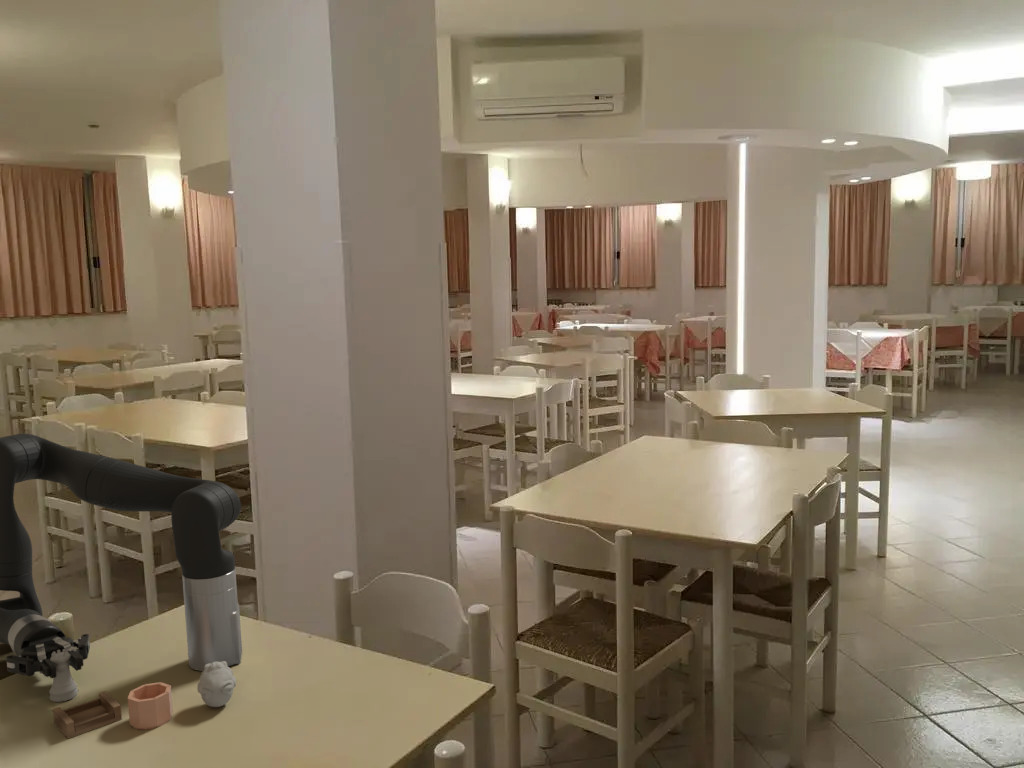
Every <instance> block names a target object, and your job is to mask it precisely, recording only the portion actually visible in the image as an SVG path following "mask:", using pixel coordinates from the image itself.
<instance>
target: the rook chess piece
mask: <svg viewBox="0 0 1024 768" xmlns="http://www.w3.org/2000/svg"><path fill="white" fill-rule="evenodd" d="M51 655H52V657H51V658H50V661H51V662H52V663H53V664H55V667H56V677H55V678H52V679H53V680H52V684H51V687H50V689H49V691H48V693H49V697H48V698H49V700H50V701H52V702H54V703H64V702H67V700H68V701H70V700H72V699H74V698H76V697H77V695H78V693H79V690H78V684H77V683H76V682H75V680H74V678H72V674H71V670H70V667H71V665H70V663H69V658H70V657H71V655H70V654H69V653H68V650H66V649H63V652H60V650H57V653H56V652H53V653H52V654H51ZM63 701H64V702H63Z"/></svg>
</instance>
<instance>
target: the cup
mask: <svg viewBox="0 0 1024 768" xmlns="http://www.w3.org/2000/svg"><path fill="white" fill-rule="evenodd" d="M127 705H128V706H127V708H128V717H129V718H128V719H129V725H130V726H131V727H132V726H133V727H132V728H133V729H136V730H151V729H156V728H159V727H161V726H163V725H165V724H167V723H168V722H170V721H171V719H172V718H173V712H174V706H173V695H172V685H171V684H168V683H164V682H160V681H158V682H154V683H144V684H143V685H140V686H138V687H136V688H134V689H132V690H130V691H129V694H128V696H127Z"/></svg>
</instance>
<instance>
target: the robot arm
mask: <svg viewBox="0 0 1024 768" xmlns="http://www.w3.org/2000/svg"><path fill="white" fill-rule="evenodd" d="M30 480H43V481H48V482H54V483H57V484H61V485H64V486H66V487H67V488H68V489H69V490H70V492H72V493H73V495H75V496H76V498H78V499H80V500H81V501H83V502H85V503H88V504H91V505H93V506H97V507H101V508H104V509H105V508H106V509H109V510H112V511H113V510H114V511H119V512H162V513H165V512H166V513H171V529H172V536H173V537H172V538H173V543H174V552H175V557H176V560H177V562H178V564H179V565H180V567H181V575H182V577H181V578H182V592H183V601H184V614H185V615H184V616H185V628H186V631H185V632H186V642H187V644H186V645H187V657H188V665H189V667H190V668H191V669H193V670H195V671H200V672H203V671H204V666H205V665H206V664H209V663H210V664H211V663H213V662H216V661H218V662H222V661H226V663H227V666H228V667H231V666H233V665H237V664H241V661H242V660H241V659H242V654H243V653H242V652H243V644H242V642H243V641H242V629H241V614H240V613H241V612H240V603H239V601H238V588H237V587H238V586H237V576H236V575H237V573H236V562H235V561H236V560H235V559H236V558H235V555H234V553H233V552H232V551H230V550H228V549H223V548H222V543H221V536H220V532H221V531H222V530H223V531H224V530H225V529H227V528H228V527H229V526H231V525H232V524H233V523H234V522H235V521H236V520H237V519H238V517H239V516H240V514H241V511H242V504H241V500H240V497H239V495H238V494H237V492H235V490H234V489H233V488H232V487H230V486H229V485H228V484H226V483H223V482H220V481H216V480H209V479H201V478H194V477H187V476H180V475H176V474H172V473H167V472H164V471H161V470H157V469H154V468H150V467H147V466H143V465H139V464H136V463H134V462H133V463H132V462H129V461H125V460H122V459H118V458H115V457H114V458H113V457H110V456H105V455H99V454H96V453H92V452H88V451H84V450H78V449H73V448H69V447H67V446H65V445H61V444H59V443H56V442H53V441H51V440H48V439H46V438H43V437H40V436H39V435H35V434H30V433H17V434H10V435H7V436H6V435H5V436H1V437H0V591H1V592H2V591H3V592H18V593H19V596H18V597H12V598H8V599H2V600H0V643H1V644H5V645H6V644H7V645H9V646H10V648H11V650H12V652H13V653H14V654H15V655H13V654H10V655H8V656H6V658H5V659H6V669H7V672H8V673H12V674H17V675H21V676H25V677H26V676H27V677H30V676H31V677H32V676H34V675H36V674H35V673H39V674H40V675H43V676H44V677H45V678H50V679H53V678H55V677H56V667H55V664H53V663H52V662H51V661H50V658H51V657H52V655H51V654H52V653H53V652H56V653H57V650H60V652H63V649H66V650H68V653H69V654H70V655H71V657H70V658H69V663H70V667H72V668H73V669H74V670H75V671H76V672H77V671H80V670H82V667H84V661H85V660H87V659H88V657H89V653H90V646H91V645H90V635H89V633H84V634H81V636H80V637H78V638H77V639H74V638H72V637H68V636H66V635H65V633H64V632H63V631H62V629H60V628H59V627H58V626H57V625H56V624H54V623H53V622H52V621H51V620H49V619H48V618H47V617H44V616H43V614H44V613H43V610H42V609H43V608H42V605H41V602H40V600H39V598H38V594H37V591H36V588H35V584H34V578H33V545H32V541H31V537H30V535H29V533H28V531H27V529H26V527H25V525H24V524H23V522H22V520H21V518H20V517H19V515H18V513H17V511H16V507H15V503H14V502H15V501H14V500H15V499H14V494H15V485H16V484H19V483H22V482H26V481H30Z"/></svg>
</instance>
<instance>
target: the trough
mask: <svg viewBox="0 0 1024 768" xmlns="http://www.w3.org/2000/svg"><path fill="white" fill-rule="evenodd" d="M52 714H53V723H54V725H56V727H58V729H59V730H60V731H61V732H62V733H63V735H64V736H66V738H67V739H71V738H74V737H77V736H80V735H82V734H85V733H88V732H91V731H93V730H95V729H99V728H102V727H105V726H107V725H110V724H113V723H115V722H118V721H121V720H122V718H123V717H122V706H121V704H120V703H119V702H118V701H117V700H115V698H113V697H112V696H111V695H110V694H109V693H108V692H106V691H102V692H98V698H95V699H92V700H89V701H86V702H83V703H81V704H78V705H74V706H71V707H69V708H66V709H63V708H61V706H57V707H54V708H52Z"/></svg>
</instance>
